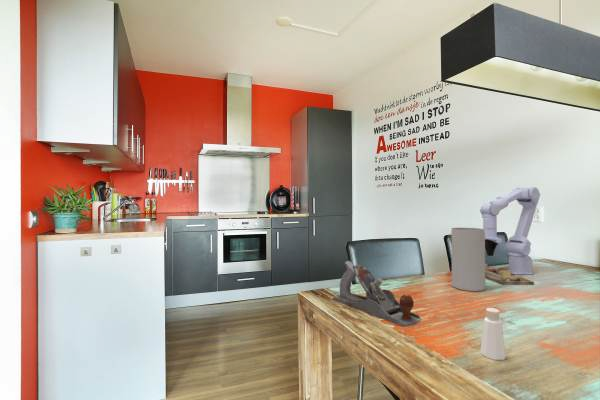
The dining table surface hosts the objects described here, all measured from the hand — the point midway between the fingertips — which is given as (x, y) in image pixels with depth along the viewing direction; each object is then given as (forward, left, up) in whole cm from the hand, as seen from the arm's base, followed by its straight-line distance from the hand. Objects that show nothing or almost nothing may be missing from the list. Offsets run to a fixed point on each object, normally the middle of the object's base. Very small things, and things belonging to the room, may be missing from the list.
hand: (490, 255), depth 156 cm
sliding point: (-1, +15, -8) cm, 17 cm away
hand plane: (+69, +46, -10) cm, 83 cm away
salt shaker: (+47, +79, -10) cm, 92 cm away
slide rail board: (-2, +6, -10) cm, 12 cm away
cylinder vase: (+22, +21, -10) cm, 32 cm away
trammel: (-1, +6, -9) cm, 11 cm away
